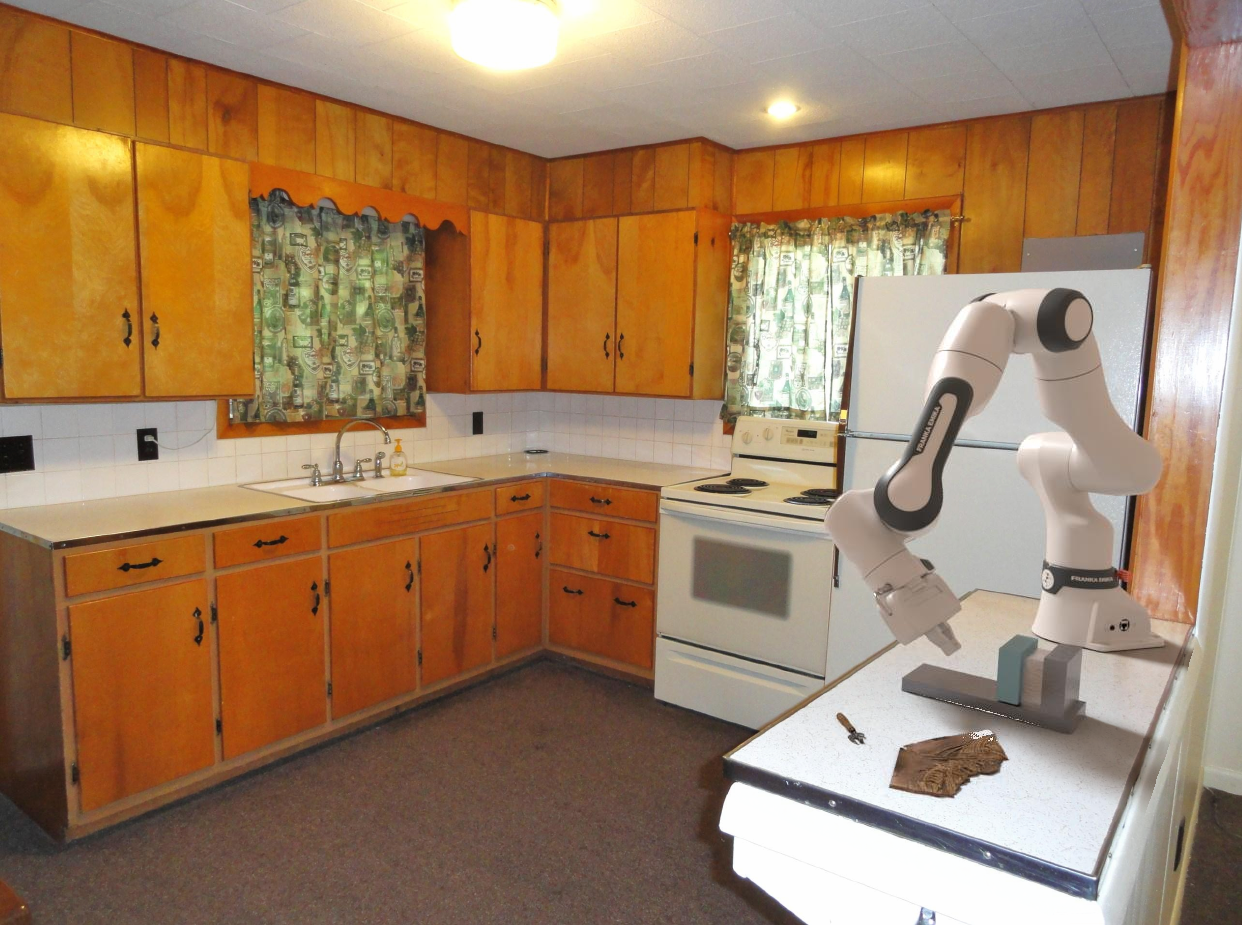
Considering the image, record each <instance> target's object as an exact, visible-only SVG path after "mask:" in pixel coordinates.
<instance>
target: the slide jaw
mask: <svg viewBox="0 0 1242 925" xmlns="http://www.w3.org/2000/svg"><path fill="white" fill-rule="evenodd" d="M1035 647H1036V648H1039V638H1036V637H1032V636H1027V635H1021V634H1018V633H1017V634H1016V635H1015V636H1013V637H1012V638H1010V639H1009V640H1008V641H1007V642H1005V643H1004V644H1003V645H1001V646H999V648H998V658H997V674H996V681H997V687H996V700H1000V701H1004V702H1008V703H1012V704H1016V705H1018V704H1019V703H1020V702H1021V688H1022V674H1023V659H1024V657H1025V656H1026V655H1027V654H1028V653H1029V652H1030V651H1031V650H1033V649H1034V648H1035Z"/></svg>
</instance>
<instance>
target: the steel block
mask: <svg viewBox="0 0 1242 925" xmlns="http://www.w3.org/2000/svg"><path fill="white" fill-rule="evenodd" d="M1051 651H1052V650H1050V649H1045V648H1040V647H1038V648H1036V647H1035V648H1034V649H1033V650H1031V651H1030V652H1029V653H1028V654H1027V655H1026V656H1025V657H1024V659H1023V674H1022V688H1021V703H1020V704H1023V705H1027V706H1031V707H1035V708H1038V709H1040V705H1041V691H1042V677H1043V663H1044V657H1045V656H1047V655H1048V654H1049V653H1050V652H1051Z"/></svg>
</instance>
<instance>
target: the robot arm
mask: <svg viewBox="0 0 1242 925" xmlns="http://www.w3.org/2000/svg"><path fill="white" fill-rule="evenodd" d="M1093 324H1094V311H1093V307H1092V304H1091V303H1090V301H1089V300H1088V298H1087V296H1085V295H1084V293H1082V292H1081V291H1079V290H1076V289H1072V288H1067V287H1055V288H1042V287H1041V288H1031V287H1030V288H1021V289H1019V290H1010V291H1003V292H998V293H996V292H990V293H986V294H982V295H980V296H977V297H976V298H973V299H972V300H971V301H970V302H968V304H967V305H965V306H964V307H963V308H962V309H960V310H959V313H958V314H957V315H956V317H955V318H954V319H953V321H952V323H951V324H950V326H949V327H948V329H947V331H946V333H945V334H944V337H943V338H942V340H941V342H940V345H939V346H938V348H937V351H936V353H935V356H934V358H933V360H932V363H931V366H930V368H929V372H928V376H927V380H926V385H925V389H924V402H923V409H922V411H921V414H920V416H919V419H918V421H917V423H916V424H915V427H914V430H913V432H912V434H911V436H910V438H909V440H908V443H907V445H906V447H905V449H904V452H903V454H902V455H901V457H900V458H899V459H898V460H896V462H895V463H894V464H892V466H890V467H889V468H888V469H887V470H886V471H885V472H884V473H883V474H882V475H881V477H880V478H879V479H878V481H877V482H876V484H875V487H873V488H867V489H848V490H845V491H844V492H843V493H842V494H839V495H838V496H837V497H836V499H834V501H833V502H832V503H831V504H830V506H829V507H828V508H827V510H826V511H825V514H824V518H823V519H824V520H823V523H824V527H825V530H826V532H827V533H828V535H829V537H830V539H831V541H832V542H833V543H834V545H835V546H836V548H837V549H838V551H839V552H840V553H841V555H842V556H843V557H844V558H845V559H846V561H848V562H849V563H850V564H852V566H854V567H855V568H856V570H857V571H858V574H859V576H860V579H861V580H862V581H863V583H864V584H865V585H866V586H867V587H868V589H869V591H870V592H871V593H872V594H873V596H874V601H875V603H876V609H877V613H878V614H879V616H880V618H881V619H882V621H883V623H884V625H886V626H887V629H888V630H889V631H890V633H891V634H892V636H893V637H894V638H895V640H896V641H897V642H898V643H900V644H901V645H903V646H907V645H910V644H911V643H912V642H914V641H916V640H918V639H919V638H921V637H922V636H925V637H926V639H927V640H928V641H929V642H931V643H932V644H934V645H935V646H936V647H937V648H939V649H940V651H942V652H943V654H944V655H945V656H947V657H950V656H952V655H953V654H954V653H956V652H957V651H959V650H961V649H962V644H961V643H960V642H959V640H958V639H957V638H956V635H955V633H954V631H953V629H952V626H951V625H950V624H949V622H948V621H949V620H950V619H952V618H954V617H955V616H957V614H959V613H960V612H962V610H963V607H962V605H961V602H960V600H959V599H958V597H957V595H955V593H954V592H953V590H952V589H951V588H950V586H949V585H948V584H947V583H946V582H945V580H944V579H943V578H942V577H941V576H940V575H939V574H938V573H936V572H935V571H937V567H936V566H935V564H934V563H933V562H932V561H931V560H930V559H927V558H922V557H919V556H917V555H915V554H912V552H911V551H910V550H909V548H908V547H907V546H906V544H907V543H909V542H912V541H914V540H916V539H919V538H921V537H923V536H926V535H927V534H929V533H930V532H931V531H932V530H934V528H935V527H936V526H937V524H938V521H939V520H940V517H941V511H942V508H943V505H944V504H943V503H944V487H943V475H944V474H943V472H944V468H945V466H946V464H947V461H948V459H949V457H950V454H951V453H952V450H953V448H954V445H955V443H956V441H957V438H958V436H959V433H960V432H961V430H962V427H963V426H964V425H965V423H966V422H967V421H968V420H969V419H970V418H972V417H975V416H978V415H979V414H981V413H982V412H983V411H984V410H985V409H986V407H987V405H988V404H989V402H990V400H991V399H993V397H994V395H995V393H996V391H997V388H998V387H999V385H1000V382H1001V380H1002V378H1003V375H1004V373H1005V370H1006V367H1007V365H1008V361H1009V359H1010V355H1025V354H1026V355H1027V354H1029V356H1030V357H1029V358H1030V363H1031V366H1030V367H1031V371H1032V375H1033V380H1034V381H1033V382H1034V384H1035V389H1036V394H1037V400H1038V403H1039V404H1038V405H1039V409H1040V411H1041V413H1042V414H1043V416H1044V418H1046V419H1047V420H1049V421H1050V422H1051V423H1053V424H1055V425H1056V426H1058V427H1060V428H1061V429H1062V430H1063V431H1056V430H1055V431H1054V430H1053V431H1046V432H1045V431H1044V432H1037V433H1033V434H1030V435H1028V436H1026V438H1025V439H1024V440H1023V441H1022V442H1021V444H1020V445H1019V447H1018V450H1017V453H1016V465H1017V469H1018V471H1019V474H1020V475H1021V477H1022V478H1023V479H1025V480H1026V481H1027V482H1028V483H1029V484H1030V486H1032V488H1033V489H1034V491H1035V493H1036V494H1037V496H1038V498H1039V500H1040V502H1041V504H1042V508H1043V511H1044V515H1045V520H1046V547H1045V548H1046V550H1045V559H1043V561H1042V567H1041V568H1042V569H1041V570H1042V572H1041V590H1042V591H1041V596H1040V600H1039V604H1038V609H1037V612H1036V616H1035V618H1034V622H1033V624H1032V626H1031V632H1032V633H1033V634H1034V635H1036V636H1038V637H1041V638H1043V639H1047V640H1049V641H1052V642H1055V643H1058V644H1060V643H1063V644H1068V645H1073V646H1078V647H1083V648H1086V649H1090V650H1094V651H1096V652H1097V651H1098V652H1114V651H1126V650H1137V649H1147V648H1157V647H1158V648H1159V647H1164V646H1165V645H1166V644H1165V639H1164V638H1163V637H1162V636H1160V635H1159V634H1158V633H1156V632H1154V631H1153V630H1152V624H1151V618H1150V613H1149V611H1148V609H1147V608H1146V607H1145V606H1144V605H1143V604H1142V603H1141V602H1139V601H1138V600H1136V599H1135V598H1134V597H1133V596H1132V595H1130V594H1129V593H1128V592H1127V591H1126V590H1124V589H1123V587H1121V586H1120V582H1119V580H1121V581H1123V582H1126V583H1128V582H1131V581H1132V579H1133V577H1134V576H1133V573H1132V572H1131V571H1129V570H1126V569H1122V568H1121V569H1118V568H1116V567H1114V566H1113V553H1114V540H1115V530H1114V526H1113V523H1112V522H1111V521H1110V519H1108V517H1106V516H1105V515H1104V514H1101V513H1100V512H1099V511H1098V510H1097V509H1096V508H1095V507H1094V505H1093V503H1092V502H1091V500H1090V496H1089V493H1091V494H1099V495H1106V496H1115V497H1122V496H1123V497H1124V496H1125V497H1126V496H1138V495H1139V496H1140V495H1145V494H1148V493H1150V491H1152V490H1153V489H1154V488H1155V487H1156V486H1157V485H1158V483H1159V481H1161V480H1160V479H1161V477H1162V474H1163V470H1164V464H1163V458H1162V455H1161V453H1160V451H1159V450H1158V448H1157V447H1156V445H1155V444H1153V443H1152V442H1150V441H1148V440H1146V439H1145V438H1143V437H1142V436H1141V435H1139V434H1138V433H1136V432H1135V431H1134V430H1133V429H1132V428H1131V427H1130V426H1129V425H1128V424H1127V423H1126V421H1124V419H1123V418H1122V417H1121V415H1120V413H1119V412H1118V411H1117V409H1116V408H1115V406H1114V404H1113V402H1112V400H1111V397H1110V393H1109V391H1108V390H1109V389H1108V387H1107V383H1106V378H1105V374H1104V370H1103V369H1104V367H1103V363H1102V358H1101V354H1100V351H1099V346H1098V343H1097V342H1098V341H1097V338H1096V336H1095V334H1094V332H1093V329H1092V328H1093Z"/></svg>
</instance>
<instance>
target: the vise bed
mask: <svg viewBox="0 0 1242 925" xmlns="http://www.w3.org/2000/svg"><path fill="white" fill-rule="evenodd" d="M1083 648H1084V647H1081V646H1075V645H1069V644H1064V643H1058V644H1057V645H1056V646H1055V647H1054V648H1053V649H1052V650H1050V651H1051V652H1050V653H1049V654H1048V655H1047V656H1045V657H1044V663H1043V677H1042V691H1041V705H1040V709H1038V708H1035V707H1031V706H1027V705H1023V704H1020V703H1021V702H1020V703H1019V704H1018V705H1016V704H1012V703H1008V702H1004V701H1000V700H996V687H997V679H991V678H987V677H983V676H981V675H976V674H975V675H974V674H970V673H967V672H963V671H958V670H953V669H950V668H945V667H941V666H938V665H933V664H928V663H922V664H920V665H919V666H917V667H916V668H914V669H912V670H911V671H910V672H908V673H907V674H905V675H904V676H903V677H902V678H901V691H904V692H907V691H908V693H911V692H912V694H915V693H916V695H919V694H921V695H920V696H922V695H925V696H924V697H926V696H929V697H928V698H930V697H933V698H932V699H934V698H938V699H942V700H946V701H951V702H954V703H958V704H962V705H965V706H970V707H973V708H979V709H982V710H985V711H990V712H993V713H997V714H1000V715H1004V716H1007V717H1011V718H1013V719H1019V720H1022V721H1026V722H1029V723H1033V724H1035V725H1034V726H1036V725H1039V726H1038V727H1040V726H1041V727H1040V728H1044V727H1045V728H1044V729H1047V728H1048V730H1051V729H1052V731H1055V732H1060V733H1063V734H1067V735H1071V734H1072V733H1073V731H1074V730H1075V729H1076V728H1077V726H1078V725H1079V724H1080V722H1081V721H1082V720H1083V719H1084V717H1085V716H1086V712H1087V711H1086V710H1087V701H1084V700H1080V698H1079V697H1080V685H1081V672H1082V660H1083ZM938 699H937V700H938ZM1013 719H1012V720H1013ZM1029 723H1028V724H1029Z"/></svg>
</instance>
